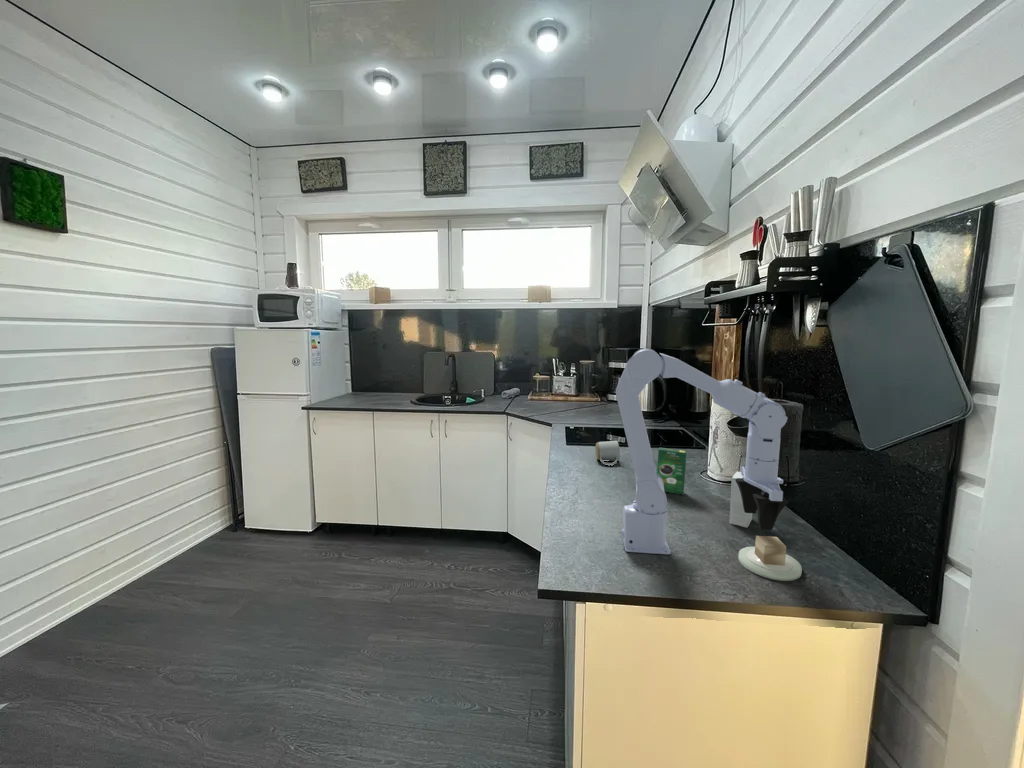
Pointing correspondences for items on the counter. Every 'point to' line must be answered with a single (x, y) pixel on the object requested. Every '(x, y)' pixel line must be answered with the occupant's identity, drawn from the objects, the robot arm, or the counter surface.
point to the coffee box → (672, 469)
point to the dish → (770, 566)
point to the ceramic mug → (608, 451)
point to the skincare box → (738, 505)
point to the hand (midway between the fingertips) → (757, 520)
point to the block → (770, 550)
